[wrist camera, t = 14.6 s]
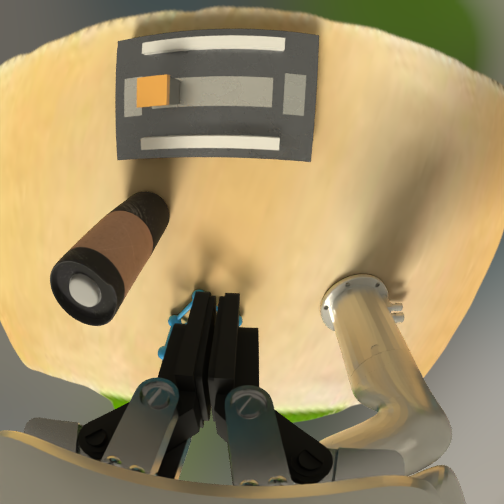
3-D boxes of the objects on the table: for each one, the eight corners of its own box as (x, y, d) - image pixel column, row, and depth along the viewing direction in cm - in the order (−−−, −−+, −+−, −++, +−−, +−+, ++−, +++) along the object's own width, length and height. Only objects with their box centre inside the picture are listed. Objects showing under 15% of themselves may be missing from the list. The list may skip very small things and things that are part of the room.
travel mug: (115, 216, 40) (41, 293, 22) (141, 178, 37) (61, 242, 20) (153, 246, 42) (99, 338, 25) (181, 211, 40) (130, 298, 22)
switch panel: (312, 42, 28) (321, 32, 23) (305, 156, 36) (313, 164, 31) (130, 46, 28) (113, 39, 23) (129, 154, 35) (112, 162, 31)
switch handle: (180, 79, 27) (167, 74, 22) (179, 105, 29) (166, 104, 24) (154, 81, 27) (136, 77, 22) (153, 107, 29) (136, 107, 24)
